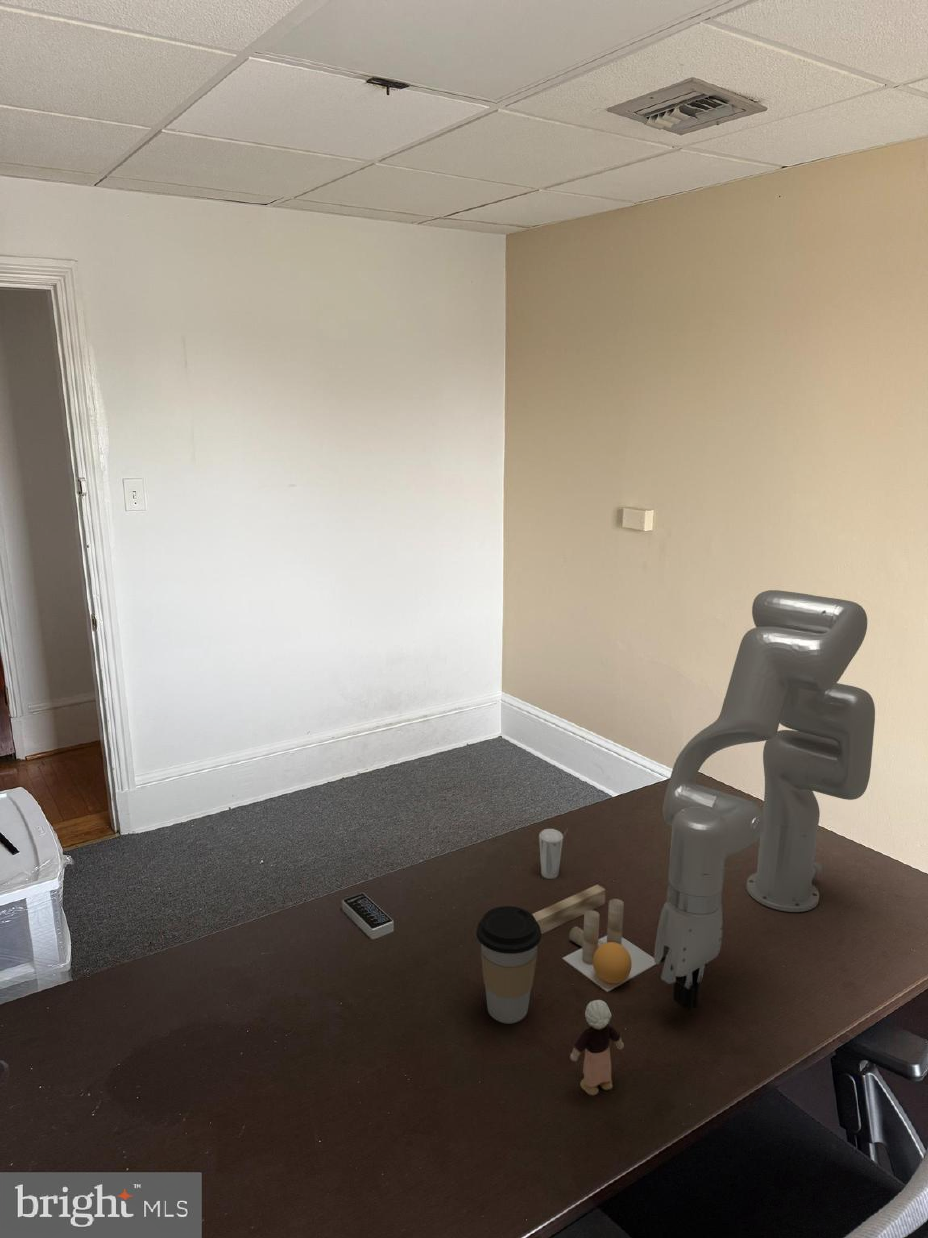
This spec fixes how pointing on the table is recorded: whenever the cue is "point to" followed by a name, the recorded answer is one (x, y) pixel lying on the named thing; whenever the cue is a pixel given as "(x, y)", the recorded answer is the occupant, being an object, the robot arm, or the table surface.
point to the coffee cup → (508, 960)
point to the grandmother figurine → (596, 1048)
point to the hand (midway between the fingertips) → (685, 1003)
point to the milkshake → (550, 852)
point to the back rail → (570, 908)
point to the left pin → (590, 936)
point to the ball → (612, 962)
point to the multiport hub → (368, 915)
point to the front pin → (579, 936)
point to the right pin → (615, 921)
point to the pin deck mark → (639, 965)
